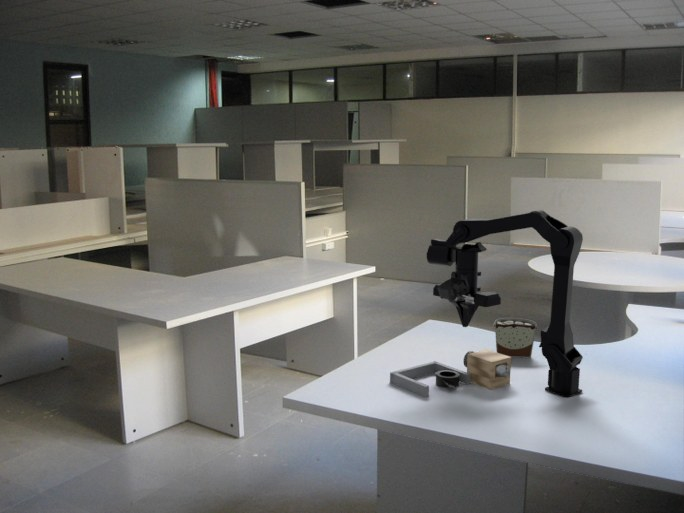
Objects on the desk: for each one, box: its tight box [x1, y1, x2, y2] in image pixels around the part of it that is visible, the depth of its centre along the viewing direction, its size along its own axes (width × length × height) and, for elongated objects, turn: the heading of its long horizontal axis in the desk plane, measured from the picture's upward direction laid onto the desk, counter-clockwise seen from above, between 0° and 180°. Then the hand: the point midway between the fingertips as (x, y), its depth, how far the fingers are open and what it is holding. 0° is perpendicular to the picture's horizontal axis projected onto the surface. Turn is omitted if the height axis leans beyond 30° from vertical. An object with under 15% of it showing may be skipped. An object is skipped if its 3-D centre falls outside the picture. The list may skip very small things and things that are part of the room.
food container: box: [492, 317, 539, 359], centre depth 198 cm, size 12×6×10 cm, turn 84°
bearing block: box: [466, 348, 512, 391], centre depth 174 cm, size 8×7×7 cm
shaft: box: [463, 350, 511, 378], centre depth 174 cm, size 12×4×4 cm, turn 37°
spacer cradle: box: [389, 360, 472, 398], centre depth 174 cm, size 13×16×2 cm
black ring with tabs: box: [435, 370, 460, 389], centre depth 173 cm, size 8×10×3 cm
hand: (465, 326), depth 182 cm, fingers closed
